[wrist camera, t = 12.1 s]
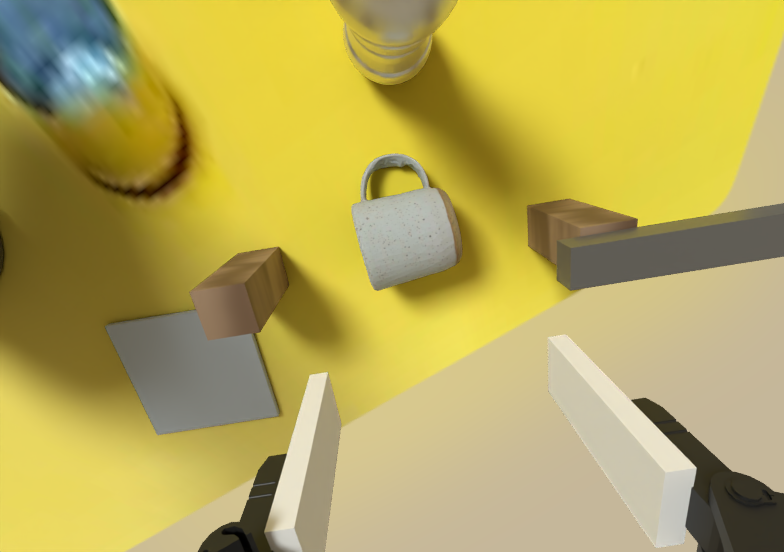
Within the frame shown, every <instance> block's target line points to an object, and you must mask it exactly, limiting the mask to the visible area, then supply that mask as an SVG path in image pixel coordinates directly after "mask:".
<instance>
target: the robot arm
mask: <svg viewBox="0 0 784 552" xmlns="http://www.w3.org/2000/svg"><path fill="white" fill-rule="evenodd" d="M2 266H3V246H2V241H1V237H0V274H1V271H2ZM548 391H549V393H550V394H551V396H552V397H553V399H554V400H555V402H556V403H557V405H558V406H559V408H560V409H561V411H562V412H563V413H564V415H565V416H566V418H567V419H568V421H569V422H570V424H571V425H572V427H573V428H574V430H575V431H576V432H577V434H578V435H579V437H580V438H581V440H582V441H583V443H584V444H585V446H586V447H587V449H588V450H589V452H590V453H591V454H592V456H593V457H594V459H595V460H596V462H597V463H598V465H599V466H600V468H601V469H602V471H603V472H604V473H605V475H606V476H607V478H608V479H609V481H610V482H611V484H612V485H613V487H614V488H615V490H616V491H617V492H618V494H619V495H620V497H621V498H622V500H623V501H624V503H625V504H626V506H627V507H628V509H629V510H630V511H631V513H632V514H633V516H634V517H635V519H636V520H637V522H638V523H639V525H640V526H641V528H642V529H643V530H644V532H645V533H646V535H647V536H648V538H649V539H650V541H651V542H652V543H653V545H654V546H655V548H657V547H664V546H671V545H678V544H683V543H684V539H685V533H686V528H687V530H688V531H689V532H690V533H691V535H692V536H693V537H694V538H695V540H697V542H698V547H697V552H784V493H779V492H774V491H772V490H771V489H770V488H769V487H767V486H766V485H765V484H764V483H762V482H760V481H758V480H756V479H754V478H752V477H750V476H747V475H744V474H741V473H737V472H732V471H731V470H730V469H729V468H727V467H726V466H725V465H724V464H723V463H722V462H721V461H720V460H719V459H718V458H717V457H716V456H715V455H713V454H712V453H711V452H710V451H709V450H708V449H707V448H706V447H705V446H704V445H703V444H702V443H701V442H699V441H698V440H697V439H696V438H695V437H694V436H693V435H692V434H691V433H690V432H687V430H686V428H684V427H683V426H682V425H681V424H680V423H679V422H676V419H675V418H674V417H673V416H672V415H670V414H669V413H668V412H667V411H666V410H665V409H664V408H663V407H661V406H660V405H657V404H656V403H654V402H652V401H650V400H649V399H647V398H641V399H634V400H630V399H629V398H628V397H627V396H626V395H625V394H624V393H623V392H622V391H621V390H620V389H619V388H618V387H617V386H616V385H615V384H614V383H613V382H612V381H611V380H610V379H609V378H608V377H607V376H606V375H605V374H604V373H603V372H602V371H601V370H600V369H599V368H598V367H597V365H595V363H594V362H593V361H592V360H591V359H590V358H589V357H588V356H587V355H586V354H585V353H584V352H583V351H582V350H581V349H580V348H579V347H578V346H577V345H576V344H575V343H574V342H573V341H572V340H571V339H570V338H569V337H568V336H567V335H559V336H553V337H548ZM340 430H341V420H340V416H339V413H338V409H337V405H336V401H335V397H334V393H333V390H332V386H331V382H330V378H329V374H328V372H325V373H319V374H312V375H310V377H309V380H308V384H307V387H306V390H305V394H304V397H303V401H302V404H301V408H300V411H299V414H298V418H297V421H296V425H295V428H294V432H293V435H292V439H291V442H290V445H289V449H288V452H287V454H282V455H276V456H269V457H268V458H267V460H266V461H265V462H264V464H263V465H262V466H261V467H260V469H259V470H258V473H257V475H256V478H255V481H254V484H253V488H252V489H251V492H250V495H249V500H247V503H246V506H245V508H244V511H243V514H242V517H241V520H240V522H231V523H229V524H226V525H223V526H221V527H220V528H218V529H217V530H215V531H214V532H212V533H211V534H210V535H209V536H208V538H207V539H206V540H205V541H204V542H203V543H202V545H201V547H200V549H199V550H198V552H325V546H326V538H327V530H328V523H329V515H330V507H331V500H332V492H333V483H334V477H335V468H336V461H337V454H338V445H339V438H340Z"/></svg>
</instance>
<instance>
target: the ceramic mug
mask: <svg viewBox="0 0 784 552" xmlns="http://www.w3.org/2000/svg"><path fill="white" fill-rule="evenodd" d="M404 165H407V166H409V167H411V168H412V169H413V170H414V171H416V173H417V174H418V176H419V177H420V179H421V181H422V184H423V187H424V188H423V189H418V190H414V191H410V192H406V193H402V194H398V195H393V196H388V197H383V198H378V199H373V200H369V201H368V200H367V199H366V189H367V183H368V180H369V178H370V176H371V174H372V173H373V172H374V171H376V170H377V169H379V168H385V167H391V166H399V167H403V166H404ZM352 215H353V221H354V225H355V230H356V233H357V238H358V242H359V245H360V249H361V252H362V256H363V260H364V262H365V266H366V269H367V272H368V276H369V279H370V282H371V284H372V286H373V288H374V290H377V291H378V290H382V289H385V288H388V287H391V286H394V285H398V284H401V283H404V282H408V281H411V280H414V279H417V278H421V277H424V276H427V275H430V274H434V273H438V272H441V271H444V270H446V269H448V268H450V267H452V266H455V265H456V264H457V263H458V262H459V261H460V259H461V257H462V241H461V234H460V229H459V225H458V221H457V218H456V214H455V211H454V208H453V206H452V203H451V201H450V198H449V197H448V195H447V194H446V192H445V191H443V190H441V189H440V188H431V187H430V186H429V182H428V178H427V175H426V174H425V171H424V169H423V168H422V167H421V165H420V164H419V163H418V162H417V161H416V160H414V159H413V158H411V157H409V156H406V155H403V154H388V155H383V156H381V157H378V158H376V159H374V160H373V161H372V162H371V163H370V164H369V165H368V167H367V168H366V170H365V172H364V174H363V177H362V181H361V202H360V203H356V204H353V205H352Z"/></svg>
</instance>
